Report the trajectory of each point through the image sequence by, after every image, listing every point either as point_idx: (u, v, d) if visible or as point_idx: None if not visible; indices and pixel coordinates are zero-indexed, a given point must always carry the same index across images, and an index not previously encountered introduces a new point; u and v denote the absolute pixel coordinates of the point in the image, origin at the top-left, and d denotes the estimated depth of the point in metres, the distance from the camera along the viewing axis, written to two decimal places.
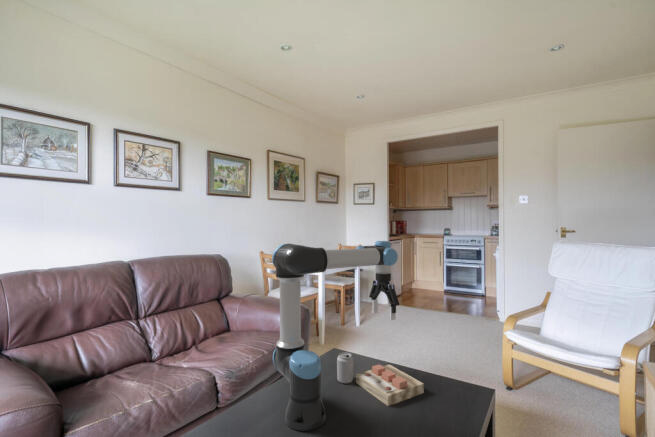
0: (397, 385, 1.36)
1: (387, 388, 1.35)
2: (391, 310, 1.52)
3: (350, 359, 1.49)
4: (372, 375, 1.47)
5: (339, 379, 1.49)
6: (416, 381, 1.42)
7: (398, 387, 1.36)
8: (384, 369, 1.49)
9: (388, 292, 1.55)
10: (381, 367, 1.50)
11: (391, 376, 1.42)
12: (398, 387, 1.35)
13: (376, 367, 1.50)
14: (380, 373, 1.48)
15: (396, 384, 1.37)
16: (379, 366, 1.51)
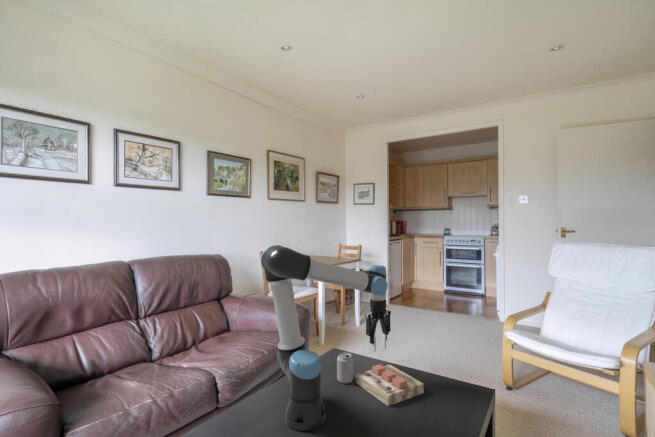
0: (397, 385, 1.36)
1: (387, 388, 1.35)
2: None
3: (350, 359, 1.49)
4: (372, 375, 1.47)
5: (339, 379, 1.49)
6: (416, 381, 1.42)
7: (398, 387, 1.36)
8: (384, 369, 1.49)
9: (373, 321, 1.49)
10: (381, 367, 1.50)
11: (391, 376, 1.42)
12: (398, 387, 1.35)
13: (376, 367, 1.50)
14: (380, 373, 1.48)
15: (396, 384, 1.37)
16: (379, 366, 1.51)
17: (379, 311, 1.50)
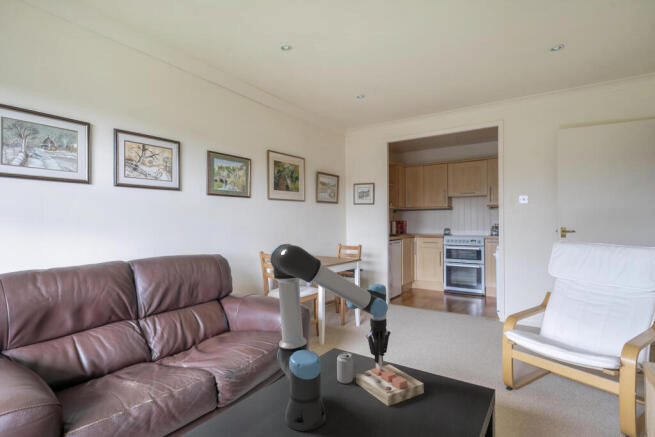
0: (397, 385, 1.36)
1: (387, 388, 1.35)
2: None
3: (350, 359, 1.49)
4: (372, 375, 1.47)
5: (339, 379, 1.49)
6: (416, 381, 1.42)
7: (398, 387, 1.36)
8: None
9: (375, 340, 1.50)
10: (381, 370, 1.50)
11: (391, 376, 1.42)
12: (398, 387, 1.35)
13: (376, 370, 1.50)
14: None
15: (396, 384, 1.37)
16: None
17: (379, 330, 1.49)
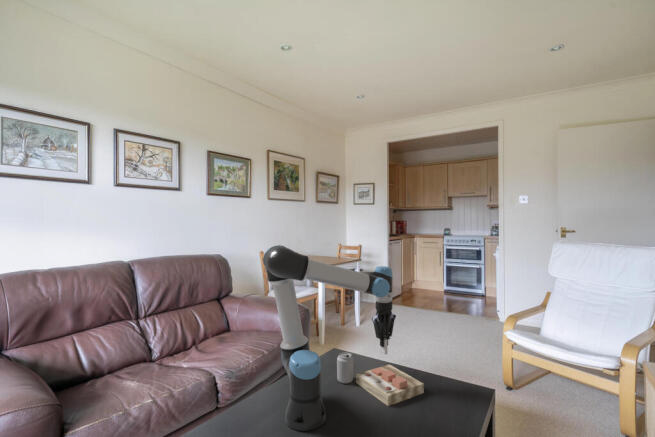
0: (397, 385, 1.36)
1: (387, 388, 1.35)
2: None
3: (350, 359, 1.49)
4: (372, 375, 1.47)
5: (339, 379, 1.49)
6: (416, 381, 1.42)
7: (398, 387, 1.36)
8: None
9: (380, 324, 1.46)
10: (381, 370, 1.50)
11: (391, 376, 1.42)
12: (398, 387, 1.35)
13: (376, 370, 1.50)
14: None
15: (396, 384, 1.37)
16: (379, 369, 1.51)
17: (385, 313, 1.46)
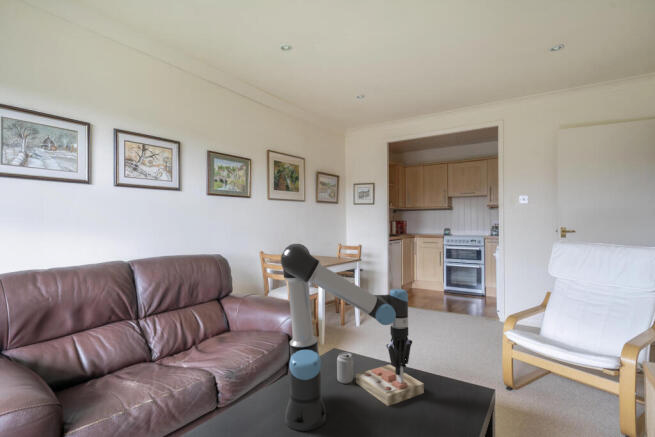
0: (397, 387, 1.36)
1: (387, 388, 1.35)
2: None
3: (350, 359, 1.49)
4: (372, 375, 1.47)
5: (339, 379, 1.49)
6: (416, 381, 1.42)
7: None
8: None
9: (395, 350, 1.38)
10: (381, 370, 1.50)
11: (391, 376, 1.42)
12: None
13: (376, 370, 1.50)
14: None
15: (396, 387, 1.37)
16: (379, 369, 1.51)
17: (400, 339, 1.37)
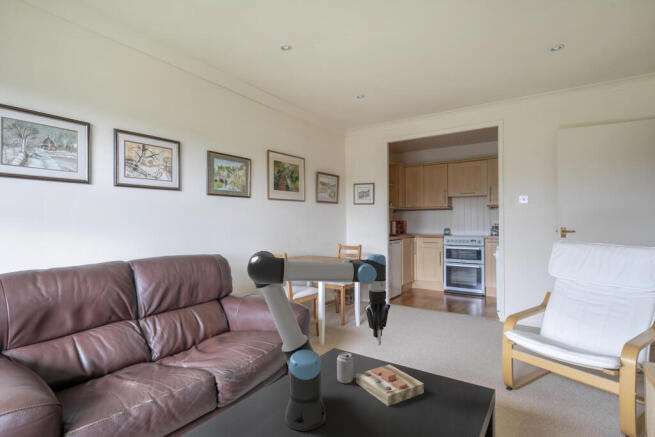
0: (397, 388, 1.36)
1: (387, 388, 1.35)
2: None
3: (350, 359, 1.49)
4: (372, 375, 1.47)
5: (339, 379, 1.49)
6: (416, 381, 1.42)
7: None
8: None
9: (373, 313, 1.41)
10: (381, 370, 1.50)
11: (391, 376, 1.42)
12: None
13: (376, 370, 1.50)
14: None
15: (396, 387, 1.37)
16: (379, 369, 1.51)
17: (378, 303, 1.41)
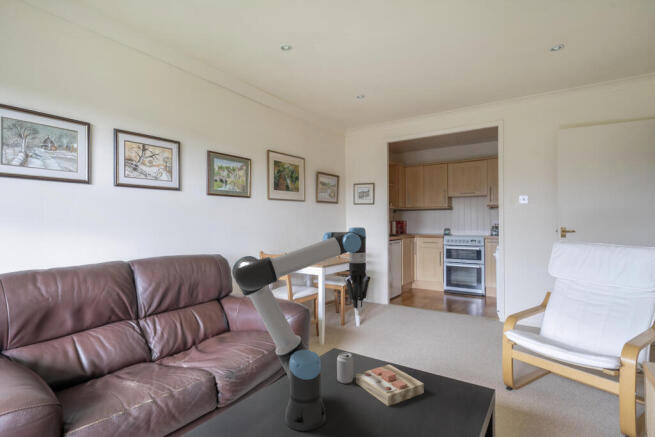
0: (397, 388, 1.36)
1: (387, 388, 1.35)
2: None
3: (350, 359, 1.49)
4: (372, 375, 1.47)
5: (339, 379, 1.49)
6: (416, 381, 1.42)
7: None
8: None
9: (353, 285, 1.44)
10: (381, 370, 1.50)
11: (391, 376, 1.42)
12: None
13: (376, 370, 1.50)
14: None
15: (396, 387, 1.37)
16: (379, 369, 1.51)
17: (358, 274, 1.43)
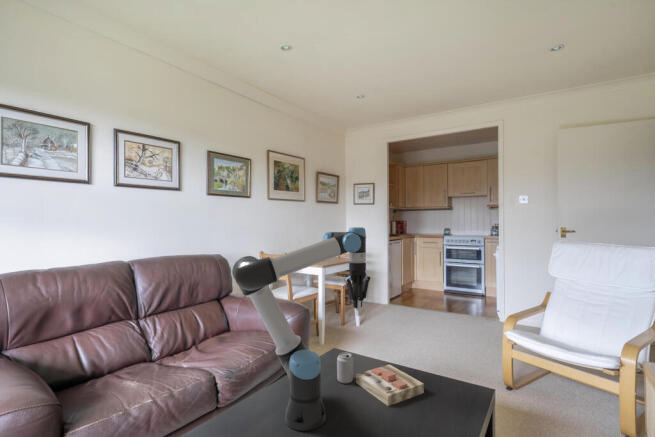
0: (397, 388, 1.36)
1: (387, 388, 1.35)
2: None
3: (350, 359, 1.49)
4: (372, 375, 1.47)
5: (339, 379, 1.49)
6: (416, 381, 1.42)
7: None
8: None
9: (353, 285, 1.44)
10: (381, 370, 1.50)
11: (391, 376, 1.42)
12: None
13: (376, 370, 1.50)
14: None
15: (396, 387, 1.37)
16: (379, 369, 1.51)
17: (358, 274, 1.43)
